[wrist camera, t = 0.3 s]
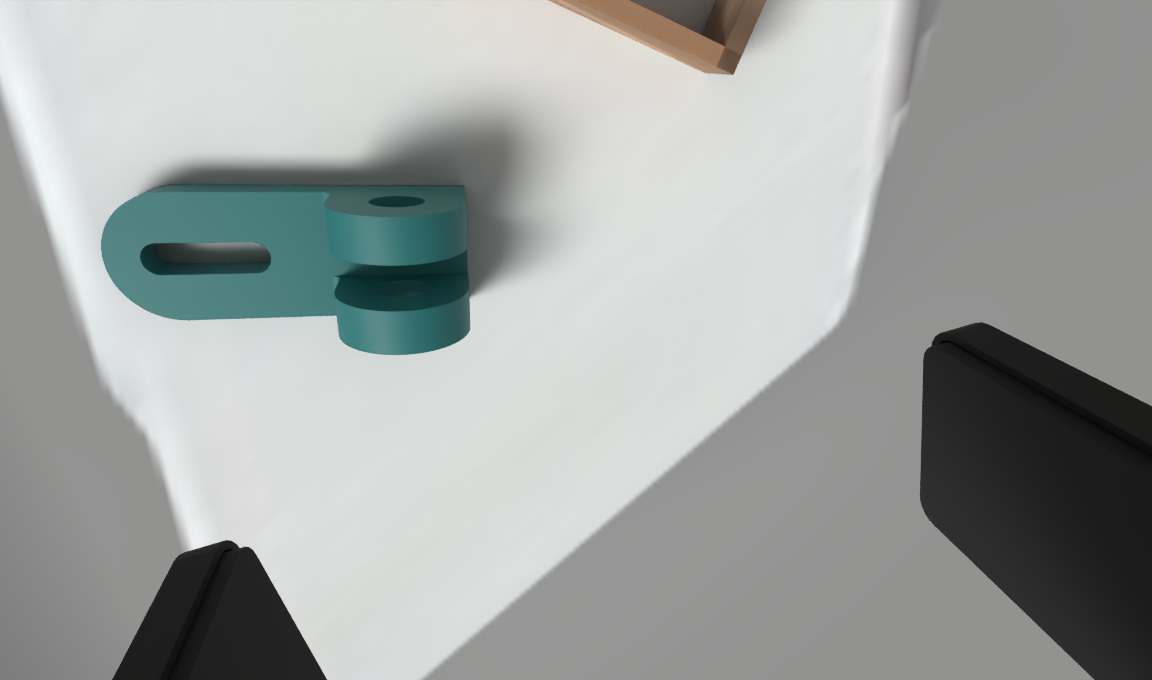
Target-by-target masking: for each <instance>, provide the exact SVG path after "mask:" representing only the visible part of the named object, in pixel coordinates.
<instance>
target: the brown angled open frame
mask: <svg viewBox="0 0 1152 680" xmlns="http://www.w3.org/2000/svg"><path fill="white" fill-rule="evenodd" d="M550 1H552V2H554V3H556V4H558V5H560V6H562V7H565V8H567V9H569V10H571V11H573V12H575V13H577V14H580V15H582V16H584V17H586V18H588V19H590V20H592V21H595V22H597V23H599V24H601V25H603V26H605V27H607V28H610V29H612V30H614V31H616V32H618V33H620V34H622V35H625V36H627V37H629V38H631V39H633V40H635V41H638V42H640V43H642V44H644V45H646V46H648V47H650V48H653V49H655V50H657V51H659V52H661V53H663V54H665V55H668V56H670V57H672V58H674V59H676V60H678V61H680V62H683V63H685V64H687V65H689V66H691V67H693V68H695V69H698V70H700V71H702V72H704V73H715V74H728V75H733V74H734V72H735V70H736V67H737V65H738V63H739V61H740V58H741V56H742V54H743V52H744V49H745V47H746V45H747V42H748V40H749V38H750V36H751V33H752V31H753V29H754V26H755V24H756V22H757V20H758V17H759V15H760V13H761V10H762V8H763V6H764V4H765V1H766V0H716V2H715V5H714V7H713V10H712V12H711V14H710V17H709V19H708V22H707V24H706V26H705V29H704V31H703V34H702V35H700V34H698V33H696V32H694V31H692V30H690V29H688V28H686V27H684V26H682V25H680V24H677V23H675V22H673V21H671V20H669V19H667V18H665V17H663V16H661V15H659V14H657V13H655V12H653V11H651V10H649V9H647V8H644V7H642V6H640V5H638V4H636V3H634V2H632V1H630V0H550Z"/></svg>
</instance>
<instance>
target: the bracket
mask: <svg viewBox="0 0 1152 680" xmlns="http://www.w3.org/2000/svg"><path fill="white" fill-rule="evenodd" d="M215 242H255V243H259V244H261V245H263V246H264V247H265V248H266V249H267V250H268V251H269V253H270V255H271V261H270V262H242V263H183V264H174V263H170V262H167V261H165V260H164V259H162V258H161V257H160V255H159V254H158V252H157V250H156V243H215ZM467 247H468V234H467V201H466V195H465V190H464V185H181V184H178V185H166V186H161V187H157V188H154V189H152V190H149V191H147V192H145V193H143V194H141V195H139V196H137V197H134V198H132V199H131V200H129V201H127V202H125V203H124V204H122V205H121V206H120V207H119V208H117V209H116V210H115V211H114V213H113V214H112V215H111V216H110V218H109V219H108V221H107V223H106V225H105V228H104V230H103V234H102V241H101V251H102V257H103V261H104V265H105V267H106V270H107V272H108V274H109V276H110V278H111V279H112V281H113V282H114V284H115V285H116V286H117V287H118V289H119V290H120V291H121V292H122V293H123V294H124V295H125V296H126V297H127V298H129V299H130V300H131V301H132V302H134V303H135V304H137V305H138V306H140V307H141V308H143V309H145V310H147V311H149V312H151V313H154V314H156V315H159V316H162V317H166V318H171V319H177V320H209V319H241V318H272V317H303V316H334V315H337V321H338V330H339V337H340V339H341V340H342V342H344V343H345V344H346V345H348V346H349V347H352V348H354V349H357V350H360V351H363V352H368V353H374V354H384V355H407V354H417V353H424V352H429V351H434V350H438V349H441V348H444V347H447V346H450V345H452V344H454V343H456V342H458V341H460V340H461V339H463V338H464V337H465V336H466V335H467V334H468V332H469V330H470V303H469V282H468V275H467Z"/></svg>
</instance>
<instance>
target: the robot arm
mask: <svg viewBox="0 0 1152 680" xmlns="http://www.w3.org/2000/svg"><path fill="white" fill-rule="evenodd" d="M922 400H923V401H922V440H921V441H922V442H921V481H920V500H921V504H922V508H923V510H924V512H925V514H926V515H927V517H928V519H929V520H930V521H931V522H932V524H934V526H935V527H937V528H938V529H939V530H940V531H941V532H942V533H943V534H944V535H945V536H946V537H947V538H948V539H949V540H950V541H951V542H952V543H953V544H954V545H955V546H956V547H957V548H958V549H959V550H960V551H962V553H964V554H965V555H966V556H967V557H968V558H969V559H970V560H971V561H972V562H973V563H974V564H975V565H976V566H977V567H978V568H979V569H980V570H981V571H982V572H983V573H984V574H985V575H986V576H987V577H988V578H990V579H991V580H992V581H993V582H994V583H995V584H996V585H997V586H998V587H999V588H1000V589H1001V590H1002V591H1003V592H1004V593H1005V594H1006V595H1007V596H1008V597H1009V598H1010V599H1011V600H1012V601H1013V602H1014V603H1016V604H1017V605H1018V606H1019V607H1020V608H1021V609H1022V610H1023V611H1024V612H1025V613H1026V614H1027V615H1028V616H1029V617H1030V618H1031V619H1032V620H1033V621H1034V622H1035V623H1036V624H1037V625H1038V626H1039V627H1040V628H1041V629H1042V630H1044V631H1045V632H1046V633H1047V634H1048V635H1049V636H1050V637H1051V638H1052V639H1053V640H1054V641H1055V642H1056V643H1057V644H1058V645H1059V646H1060V647H1061V648H1062V649H1063V650H1064V651H1065V652H1066V653H1068V655H1070V656H1071V657H1072V658H1073V659H1074V660H1075V661H1076V662H1077V663H1078V664H1079V665H1080V666H1081V667H1082V668H1083V669H1084V670H1085V671H1086V672H1087V673H1088V674H1089V675H1090V676H1091V677H1092V678H1094V680H1152V406H1150V405H1148V404H1146V403H1144V402H1142V401H1140V400H1138V399H1136V398H1134V397H1132V396H1130V395H1128V394H1126V393H1124V392H1122V391H1120V390H1118V389H1116V388H1114V387H1112V386H1110V385H1108V384H1106V383H1104V382H1102V381H1100V380H1098V379H1096V378H1094V377H1092V376H1090V375H1088V374H1086V373H1084V372H1082V371H1080V370H1078V369H1076V368H1074V367H1072V366H1070V365H1068V364H1066V363H1064V362H1062V361H1060V360H1058V359H1056V358H1054V357H1052V356H1050V355H1048V354H1046V353H1044V352H1042V351H1040V350H1038V349H1036V348H1034V347H1032V346H1030V345H1028V344H1026V343H1024V342H1022V341H1020V340H1018V339H1016V338H1014V337H1012V336H1010V335H1008V334H1006V333H1004V332H1002V331H1000V330H998V329H996V328H994V327H993V326H991V325H988V324H985V323H982V322H981V323H974V324H970V325H967V326H963V327H960V328H956V329H953V330H949V331H946V332H943V333H940V334H938V335H937V336H936V337H935V338H934V340H933V342H932V347H930V348H928V349H927V350H926V352H925V353H924V360H923V399H922ZM112 680H327V679H326V677H325V675H324V674H323V672H322V670H321V668H320V666H319V665H318V663H317V661H316V659H315V658H314V656H313V654H312V652H311V651H310V649H309V647H308V645H307V644H306V642H305V640H304V638H303V637H302V635H301V633H300V631H299V629H298V628H297V626H296V624H295V622H294V621H293V619H292V617H291V615H290V614H289V612H288V610H287V608H286V607H285V605H284V603H283V601H282V599H281V598H280V596H279V594H278V592H277V591H276V589H275V587H274V585H273V584H272V582H271V580H270V578H269V577H268V575H267V573H266V571H265V569H264V568H263V566H262V564H261V562H260V561H259V559H258V557H257V555H256V554H255V552H254V551H253V550H252V549H251V548H249V547H243V548H239V547H238V545H237V544H235V543H234V542H232V541H228V540H226V541H222V542H219V543H215V544H212V545H209V546H205V547H202V548H198V549H195V550H191V551H188V552H184V553H182V554H180V555H179V556H178V557H177V558H176V559H175V561H174V562H173V564H172V566H171V568H170V570H169V572H168V574H167V576H166V577H165V579H164V581H163V583H162V585H161V587H160V589H159V591H158V593H157V595H156V597H155V599H154V601H153V603H152V605H151V607H150V608H149V610H148V612H147V614H146V616H145V618H144V620H143V622H142V624H141V626H140V628H139V629H138V631H137V633H136V635H135V637H134V639H133V641H132V643H131V645H130V647H129V649H128V651H127V652H126V654H125V656H124V658H123V660H122V662H121V664H120V666H119V668H118V670H117V672H116V674H115V676H114V678H113V679H112Z"/></svg>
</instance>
